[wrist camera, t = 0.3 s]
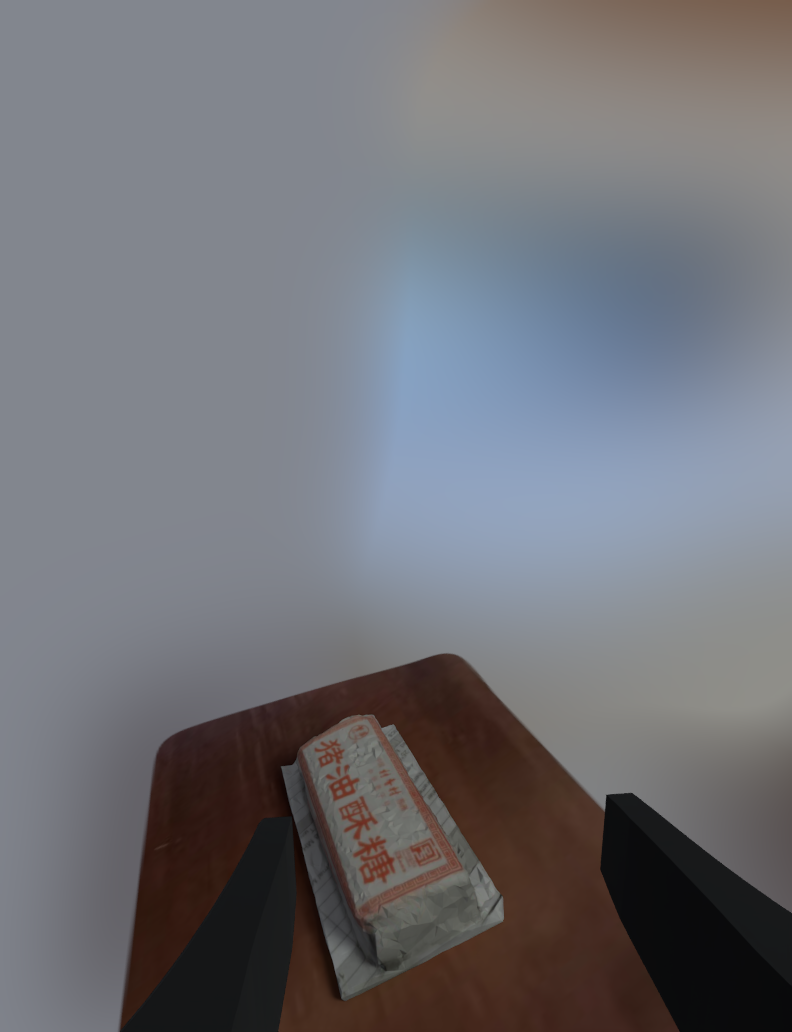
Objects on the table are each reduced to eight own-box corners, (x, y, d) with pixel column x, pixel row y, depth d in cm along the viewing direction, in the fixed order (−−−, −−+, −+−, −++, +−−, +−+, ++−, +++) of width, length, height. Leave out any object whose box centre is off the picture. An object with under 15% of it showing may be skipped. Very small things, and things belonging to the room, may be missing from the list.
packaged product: (508, 860, 29) (331, 942, 26) (511, 926, 30) (343, 1013, 27) (390, 690, 45) (272, 727, 42) (395, 738, 47) (282, 778, 43)
